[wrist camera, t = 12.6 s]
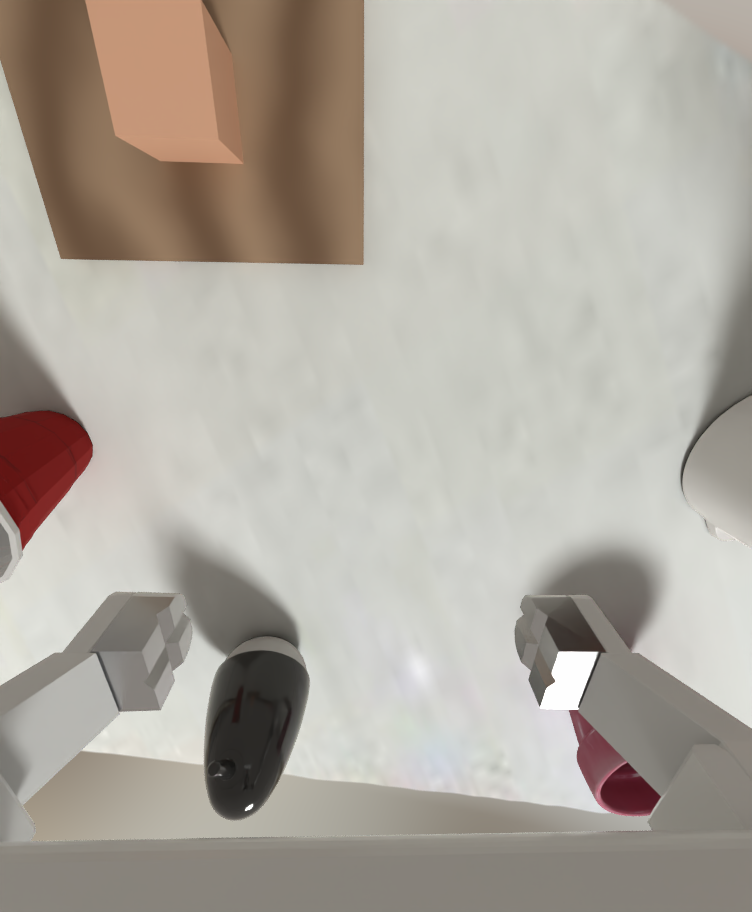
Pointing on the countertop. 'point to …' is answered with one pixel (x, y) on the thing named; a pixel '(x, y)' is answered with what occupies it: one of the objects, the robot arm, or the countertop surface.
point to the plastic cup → (35, 475)
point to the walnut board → (193, 183)
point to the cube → (168, 79)
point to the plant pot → (611, 773)
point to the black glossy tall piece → (252, 724)
